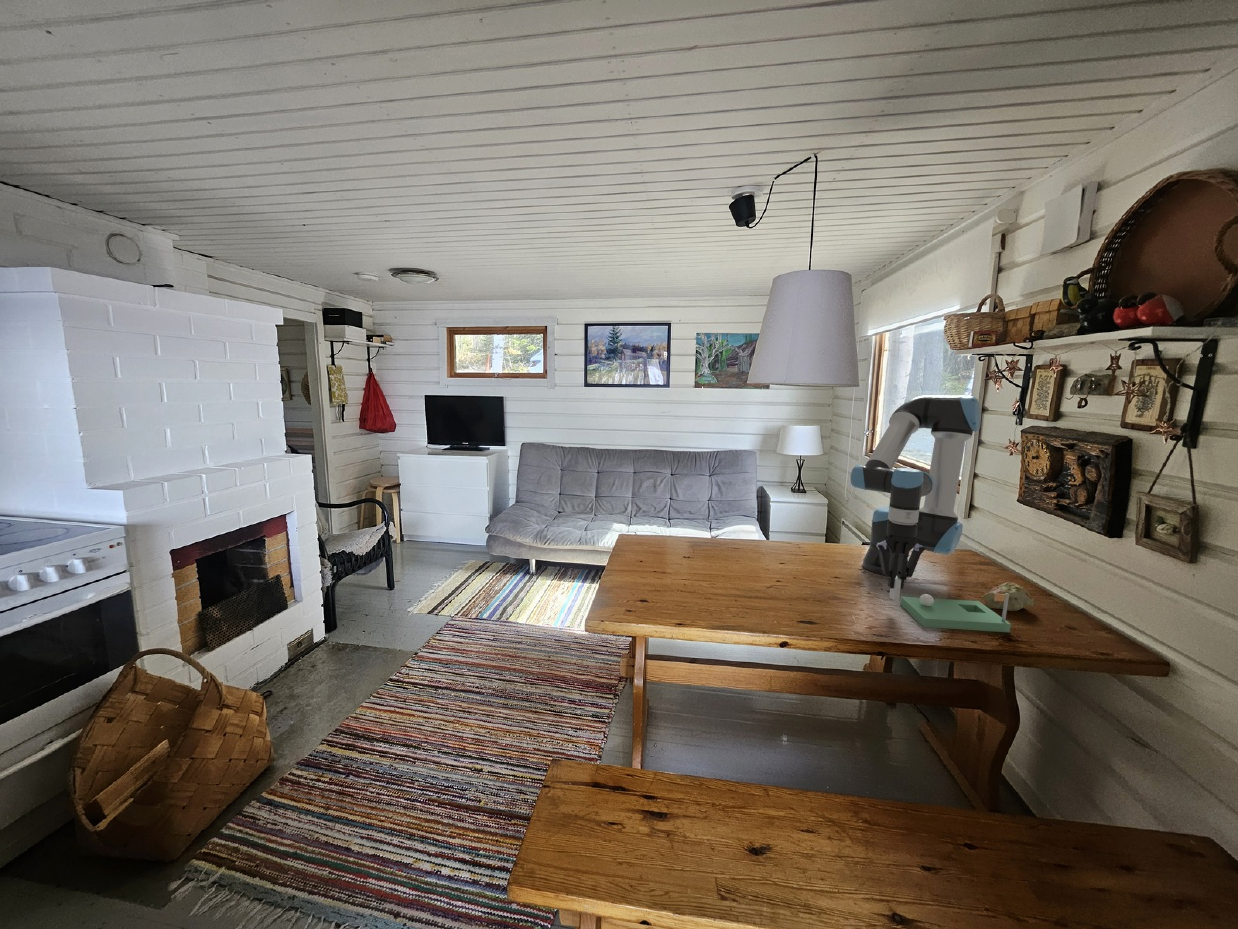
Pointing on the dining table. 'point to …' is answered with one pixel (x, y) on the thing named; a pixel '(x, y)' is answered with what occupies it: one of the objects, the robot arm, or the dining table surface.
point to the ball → (926, 600)
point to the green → (958, 614)
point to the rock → (1016, 596)
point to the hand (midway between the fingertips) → (894, 598)
